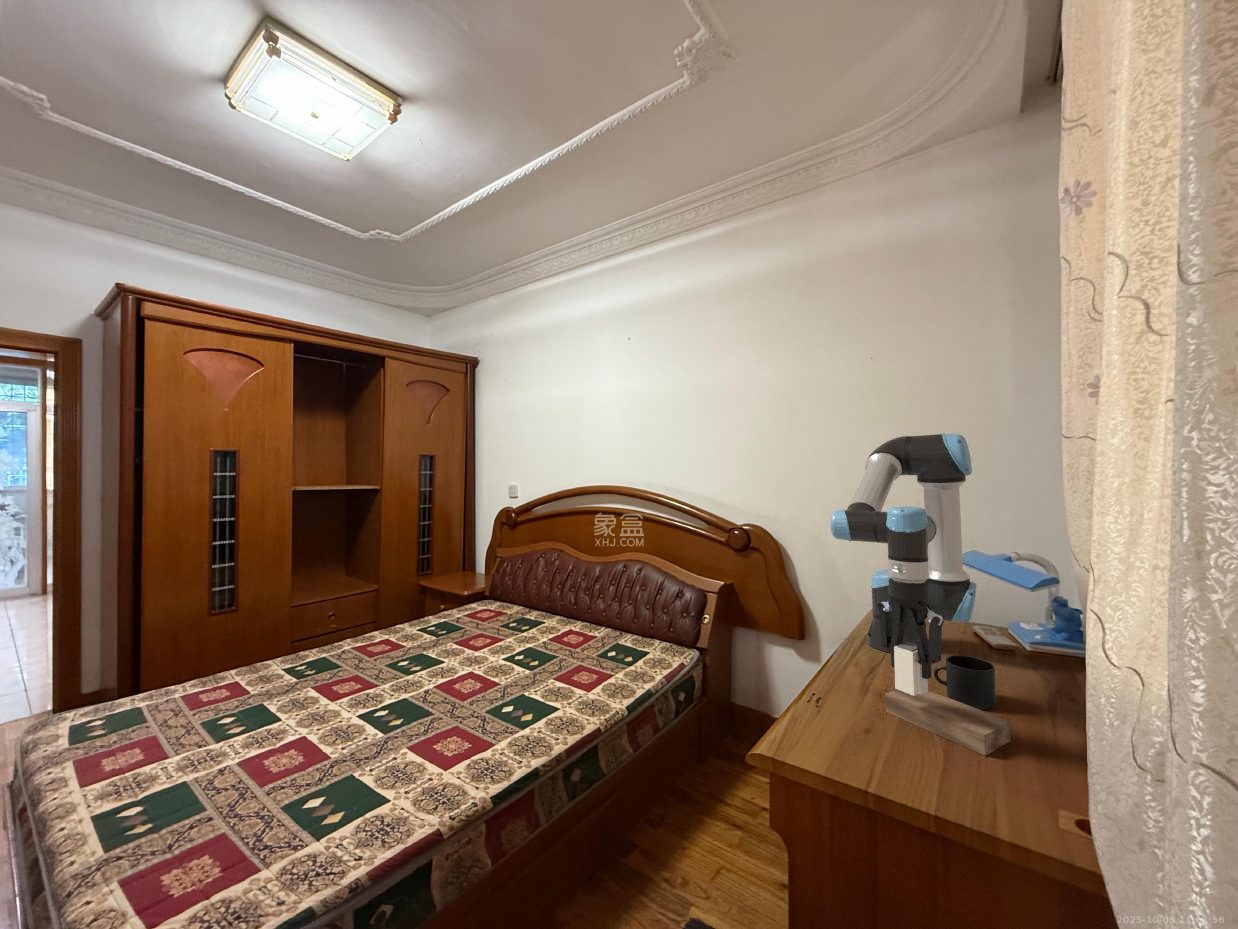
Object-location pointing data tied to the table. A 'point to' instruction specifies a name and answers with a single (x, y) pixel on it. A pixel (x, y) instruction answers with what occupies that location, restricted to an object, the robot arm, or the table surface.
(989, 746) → the wooden plank
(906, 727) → the table surface
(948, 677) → the mug
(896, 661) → the block
